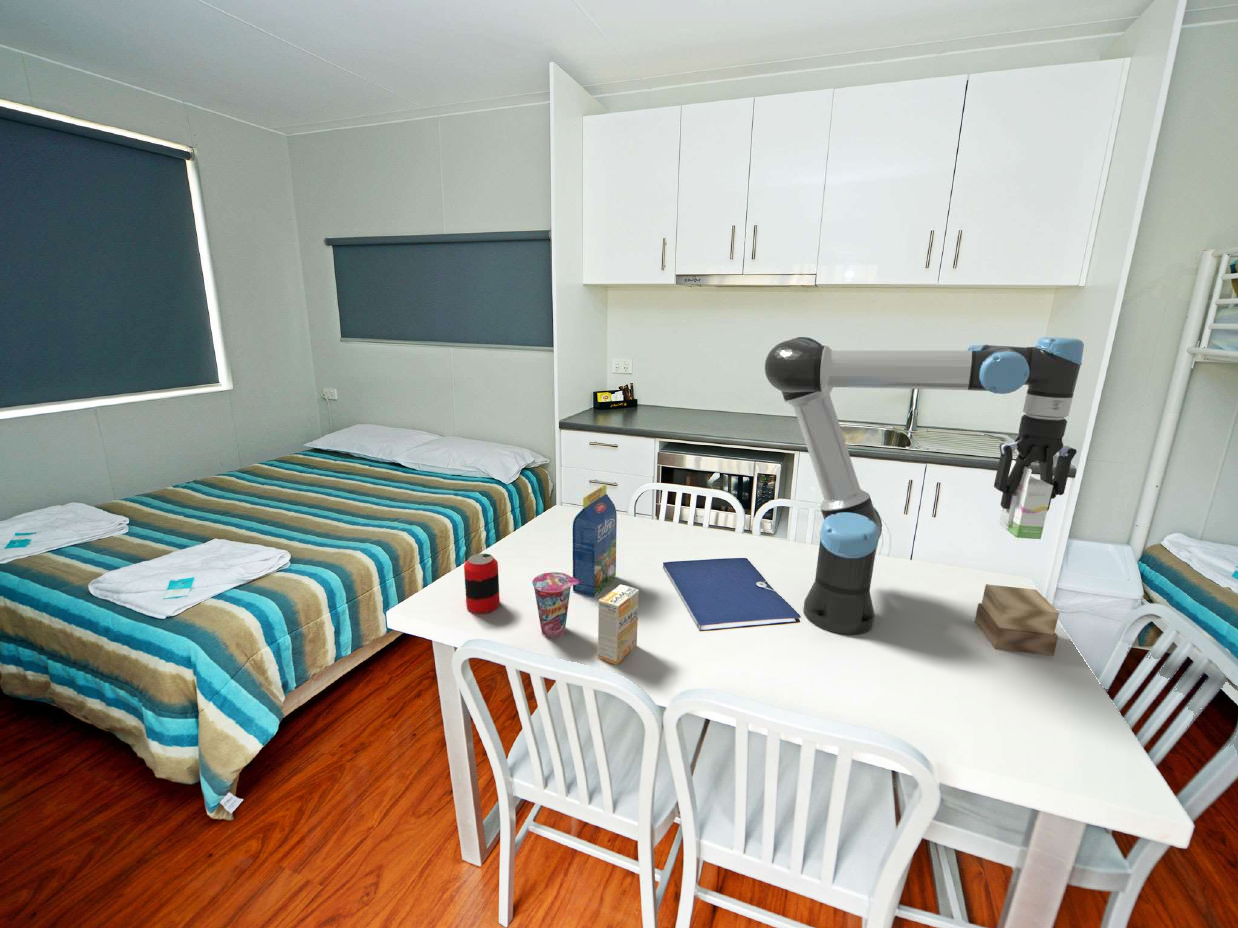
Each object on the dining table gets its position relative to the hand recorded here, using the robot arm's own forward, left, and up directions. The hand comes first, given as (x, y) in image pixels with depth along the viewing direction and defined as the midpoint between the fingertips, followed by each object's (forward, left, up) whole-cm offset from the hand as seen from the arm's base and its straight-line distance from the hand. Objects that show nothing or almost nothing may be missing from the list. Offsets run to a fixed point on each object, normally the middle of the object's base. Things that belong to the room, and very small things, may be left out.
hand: (1020, 523), depth 122 cm
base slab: (+1, -4, -25) cm, 26 cm away
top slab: (+1, -4, -20) cm, 21 cm away
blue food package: (-93, 0, -25) cm, 96 cm away
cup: (-96, -23, -25) cm, 102 cm away
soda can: (-116, -16, -25) cm, 120 cm away
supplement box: (-82, -27, -25) cm, 90 cm away
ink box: (0, 0, -2) cm, 2 cm away
